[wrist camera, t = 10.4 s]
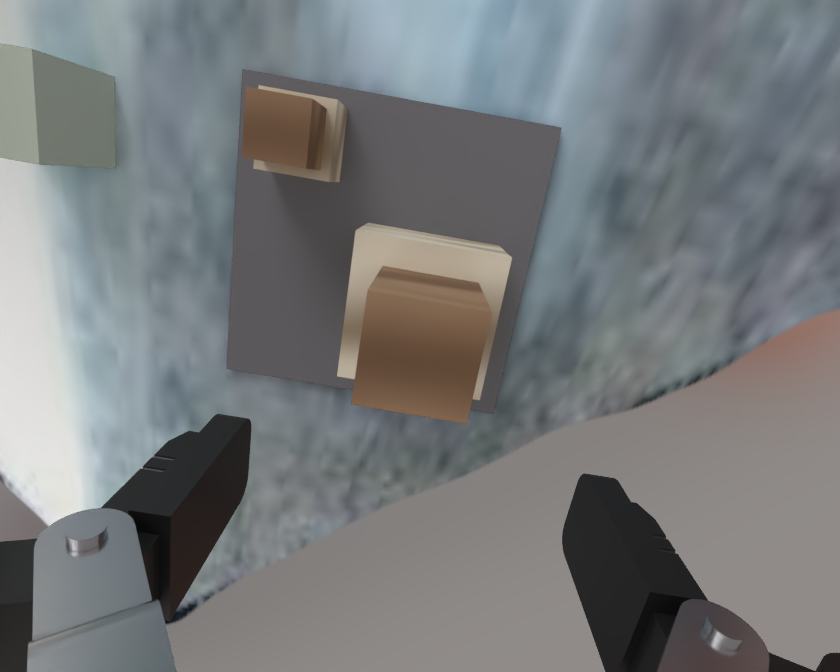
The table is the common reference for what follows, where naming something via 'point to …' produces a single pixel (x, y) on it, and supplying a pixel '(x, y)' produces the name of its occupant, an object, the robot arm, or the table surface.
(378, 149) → the charcoal mat
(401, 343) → the walnut block
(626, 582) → the robot arm
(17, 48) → the sage block
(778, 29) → the table surface
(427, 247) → the birch base block
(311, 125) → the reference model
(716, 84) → the table surface
